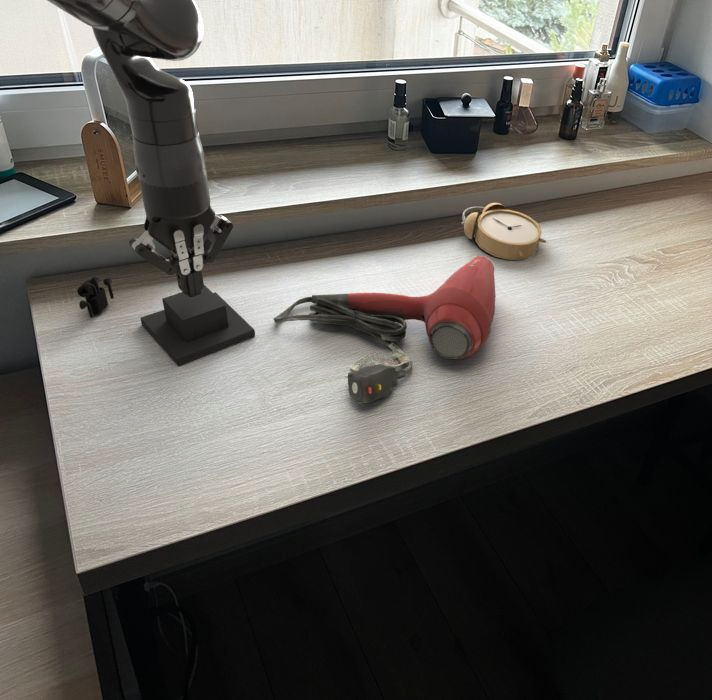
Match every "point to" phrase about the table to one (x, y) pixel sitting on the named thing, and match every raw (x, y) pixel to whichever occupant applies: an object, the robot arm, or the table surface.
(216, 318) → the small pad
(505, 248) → the alarm clock
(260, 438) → the table surface
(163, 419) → the table surface
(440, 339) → the hair dryer
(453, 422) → the table surface
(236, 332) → the base pad
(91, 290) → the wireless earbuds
